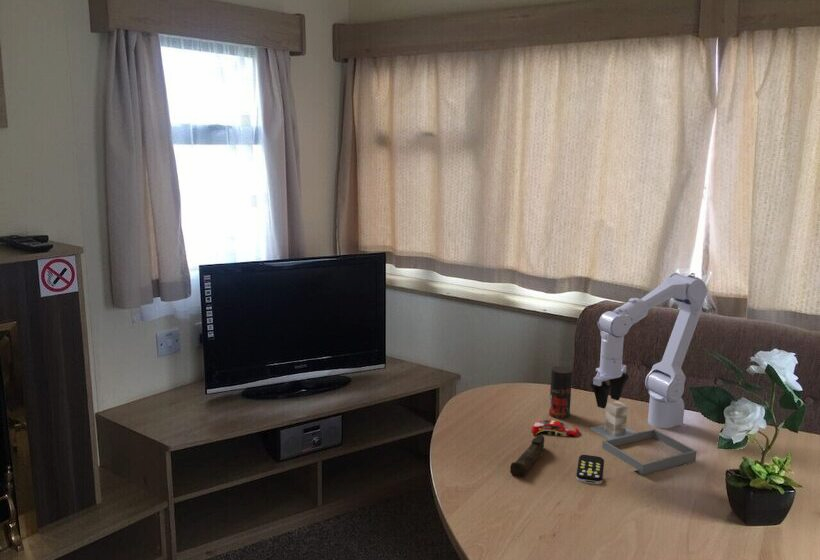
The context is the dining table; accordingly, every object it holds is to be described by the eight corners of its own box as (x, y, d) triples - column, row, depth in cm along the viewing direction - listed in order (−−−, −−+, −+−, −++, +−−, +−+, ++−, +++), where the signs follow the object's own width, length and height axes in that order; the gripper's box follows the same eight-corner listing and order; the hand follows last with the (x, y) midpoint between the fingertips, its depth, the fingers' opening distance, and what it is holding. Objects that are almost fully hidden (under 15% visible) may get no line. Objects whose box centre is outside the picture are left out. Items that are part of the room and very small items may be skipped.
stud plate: (616, 424, 211) (617, 412, 210) (641, 438, 202) (642, 426, 201) (588, 431, 206) (589, 418, 206) (612, 445, 198) (613, 432, 197)
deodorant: (544, 415, 217) (547, 367, 213) (561, 412, 219) (564, 365, 216) (556, 423, 211) (559, 374, 208) (573, 420, 214) (576, 371, 210)
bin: (653, 438, 202) (654, 428, 201) (695, 461, 189) (696, 451, 188) (601, 451, 194) (602, 440, 194) (642, 476, 181) (642, 464, 180)
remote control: (603, 463, 189) (604, 455, 188) (601, 486, 177) (602, 479, 176) (579, 459, 190) (579, 452, 190) (575, 482, 178) (576, 475, 178)
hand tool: (524, 480, 179) (525, 462, 178) (509, 475, 181) (510, 458, 180) (552, 451, 195) (553, 435, 194) (538, 447, 197) (539, 431, 196)
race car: (579, 434, 205) (580, 421, 204) (579, 442, 200) (580, 429, 199) (532, 429, 208) (533, 416, 207) (531, 437, 203) (531, 423, 202)
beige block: (615, 427, 207) (617, 400, 205) (625, 433, 203) (627, 406, 201) (604, 430, 205) (606, 403, 203) (614, 435, 201) (616, 408, 200)
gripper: (611, 346, 205) (608, 392, 208) (584, 359, 195) (581, 406, 198) (634, 352, 200) (631, 398, 203) (608, 365, 190) (605, 414, 193)
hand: (608, 403), depth 200 cm, fingers open, 7 cm apart
